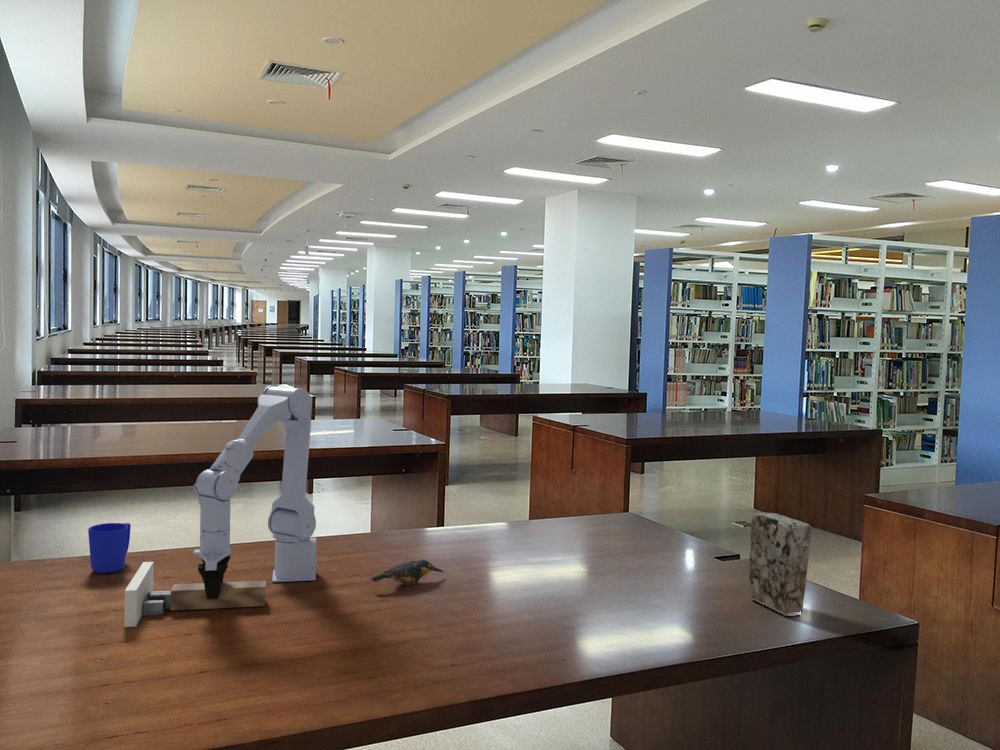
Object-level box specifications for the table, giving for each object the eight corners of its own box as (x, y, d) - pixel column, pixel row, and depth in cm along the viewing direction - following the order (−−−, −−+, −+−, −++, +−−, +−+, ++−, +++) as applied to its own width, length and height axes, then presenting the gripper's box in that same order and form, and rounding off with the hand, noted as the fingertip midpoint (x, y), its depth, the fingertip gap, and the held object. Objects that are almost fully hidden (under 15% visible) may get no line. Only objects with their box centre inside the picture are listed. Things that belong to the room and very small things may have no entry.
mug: (144, 561, 187) (144, 520, 186) (114, 577, 175) (114, 533, 174) (111, 559, 188) (112, 517, 187) (79, 574, 176) (80, 530, 175)
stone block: (809, 615, 167) (815, 523, 166) (785, 619, 164) (791, 526, 163) (763, 595, 179) (768, 509, 178) (740, 599, 176) (745, 511, 175)
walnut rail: (265, 599, 164) (265, 580, 164) (264, 605, 160) (265, 586, 160) (152, 604, 158) (152, 585, 158) (148, 611, 155) (148, 591, 154)
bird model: (377, 596, 169) (378, 573, 169) (365, 589, 173) (366, 567, 172) (449, 579, 182) (450, 558, 182) (437, 574, 186) (437, 553, 185)
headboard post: (172, 593, 166) (172, 561, 165) (157, 625, 148) (158, 589, 148) (142, 594, 164) (143, 562, 164) (124, 627, 147) (124, 590, 147)
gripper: (198, 520, 165) (197, 583, 165) (189, 539, 151) (188, 608, 151) (233, 519, 166) (232, 582, 167) (227, 538, 152) (226, 606, 153)
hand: (214, 594), depth 159 cm, fingers closed on walnut rail, 4 cm apart
